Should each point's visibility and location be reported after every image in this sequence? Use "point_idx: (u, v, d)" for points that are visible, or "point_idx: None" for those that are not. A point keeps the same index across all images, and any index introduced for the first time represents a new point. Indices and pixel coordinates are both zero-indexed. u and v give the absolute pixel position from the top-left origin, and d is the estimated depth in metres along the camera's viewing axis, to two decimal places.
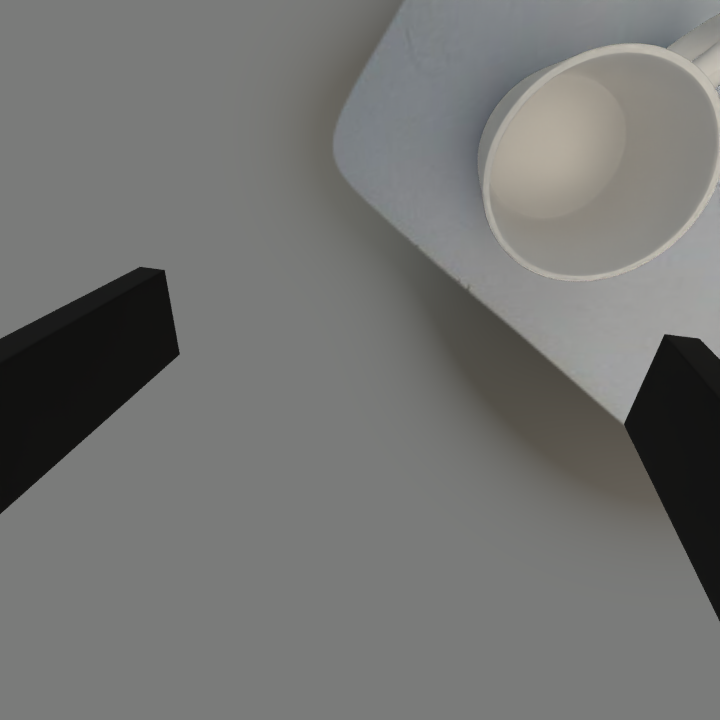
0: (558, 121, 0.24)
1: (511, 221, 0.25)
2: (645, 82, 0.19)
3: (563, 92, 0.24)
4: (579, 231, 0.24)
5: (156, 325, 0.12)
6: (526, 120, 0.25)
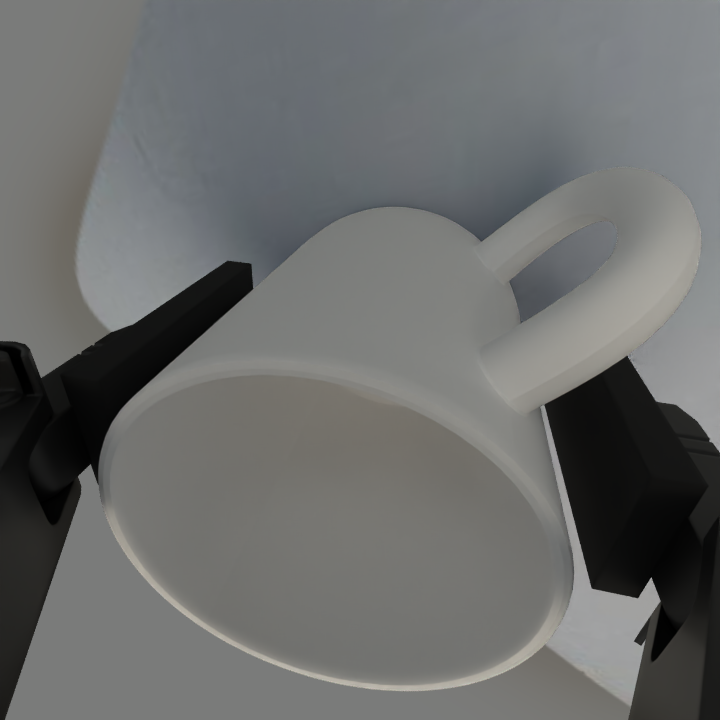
0: None
1: (327, 437, 0.16)
2: None
3: None
4: (424, 468, 0.15)
5: None
6: None
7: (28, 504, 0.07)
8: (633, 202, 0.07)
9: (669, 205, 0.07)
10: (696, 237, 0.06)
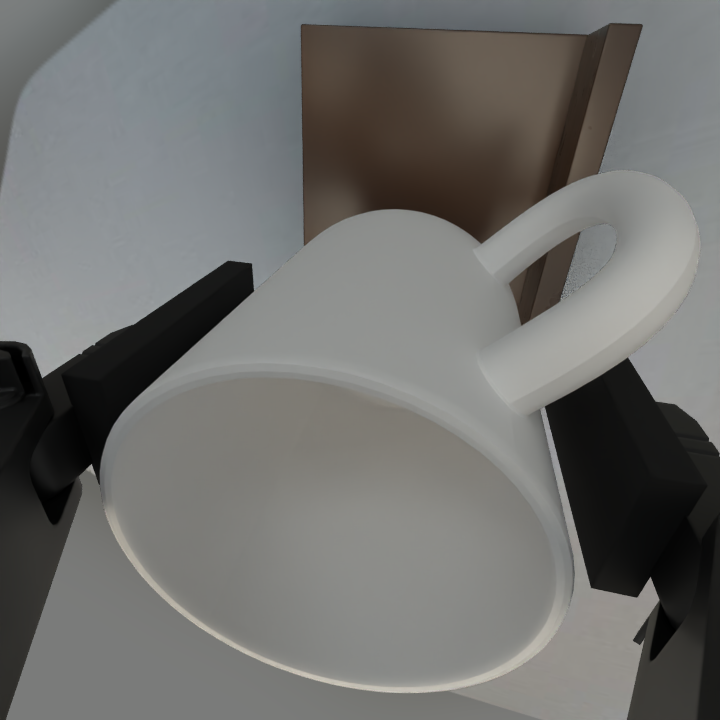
0: None
1: (327, 439, 0.16)
2: None
3: None
4: (424, 470, 0.15)
5: None
6: None
7: (29, 504, 0.07)
8: (633, 205, 0.07)
9: (668, 208, 0.07)
10: (695, 240, 0.06)
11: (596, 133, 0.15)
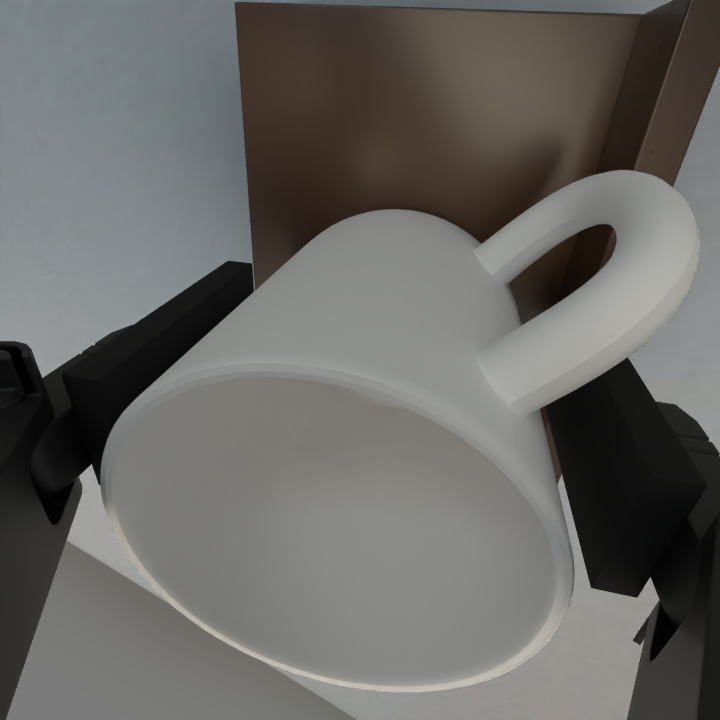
0: None
1: (328, 438, 0.16)
2: None
3: None
4: (424, 469, 0.15)
5: None
6: None
7: (29, 504, 0.07)
8: (632, 205, 0.07)
9: (668, 208, 0.07)
10: (695, 240, 0.06)
11: (661, 160, 0.10)
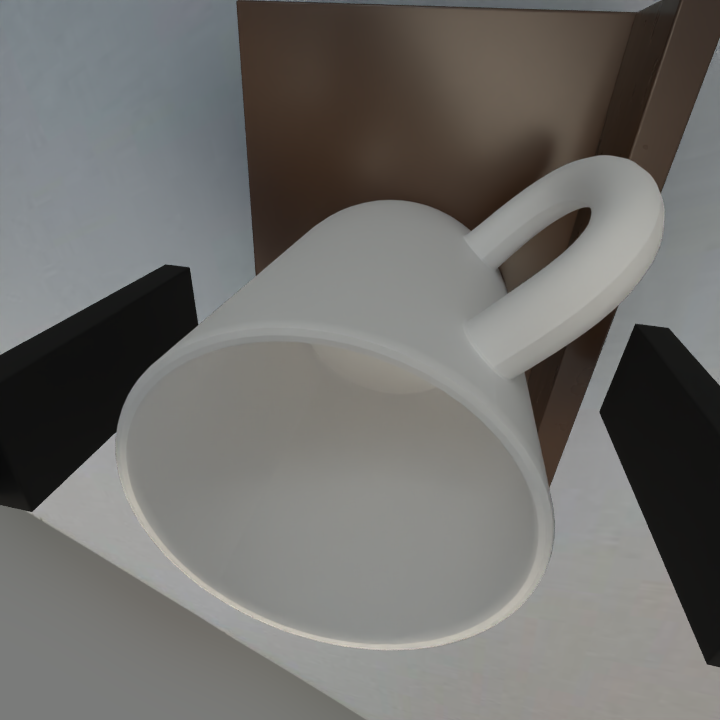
0: None
1: (327, 423, 0.16)
2: None
3: None
4: (420, 450, 0.15)
5: (181, 321, 0.13)
6: None
7: None
8: (604, 184, 0.08)
9: (635, 185, 0.07)
10: (659, 213, 0.07)
11: (654, 155, 0.10)
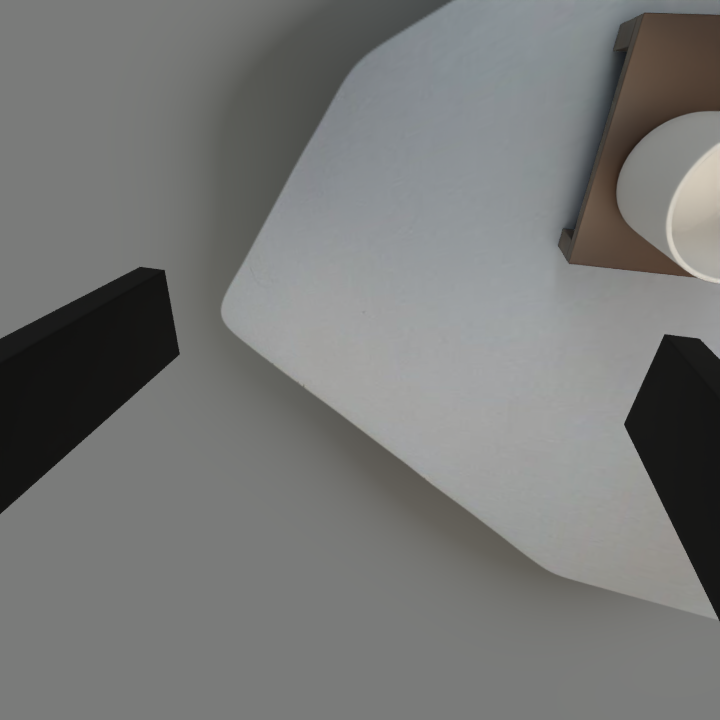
0: None
1: None
2: None
3: None
4: (709, 243, 0.30)
5: (156, 325, 0.12)
6: None
7: None
8: None
9: None
10: None
11: None
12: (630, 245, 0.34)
